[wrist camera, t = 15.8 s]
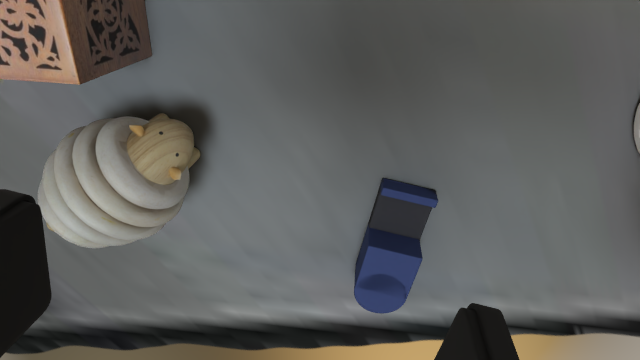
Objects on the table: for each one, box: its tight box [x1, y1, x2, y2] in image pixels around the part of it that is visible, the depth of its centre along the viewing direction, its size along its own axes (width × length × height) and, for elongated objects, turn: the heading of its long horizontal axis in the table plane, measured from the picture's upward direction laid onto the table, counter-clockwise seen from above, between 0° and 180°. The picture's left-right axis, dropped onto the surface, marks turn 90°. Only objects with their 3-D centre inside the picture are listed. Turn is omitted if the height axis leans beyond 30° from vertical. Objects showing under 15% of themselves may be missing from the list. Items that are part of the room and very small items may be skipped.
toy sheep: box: [38, 113, 200, 248], centre depth 36 cm, size 11×17×11 cm, turn 129°
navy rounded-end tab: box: [354, 178, 438, 313], centre depth 40 cm, size 12×5×4 cm, turn 168°
